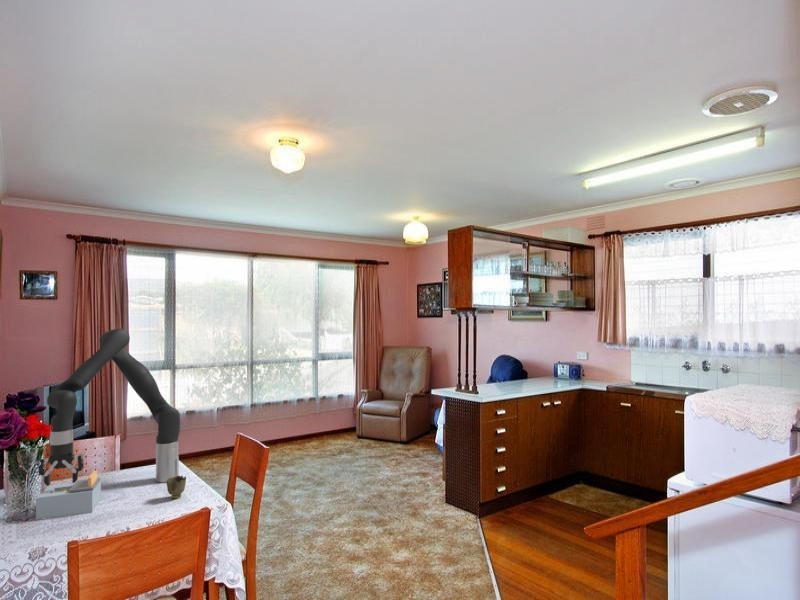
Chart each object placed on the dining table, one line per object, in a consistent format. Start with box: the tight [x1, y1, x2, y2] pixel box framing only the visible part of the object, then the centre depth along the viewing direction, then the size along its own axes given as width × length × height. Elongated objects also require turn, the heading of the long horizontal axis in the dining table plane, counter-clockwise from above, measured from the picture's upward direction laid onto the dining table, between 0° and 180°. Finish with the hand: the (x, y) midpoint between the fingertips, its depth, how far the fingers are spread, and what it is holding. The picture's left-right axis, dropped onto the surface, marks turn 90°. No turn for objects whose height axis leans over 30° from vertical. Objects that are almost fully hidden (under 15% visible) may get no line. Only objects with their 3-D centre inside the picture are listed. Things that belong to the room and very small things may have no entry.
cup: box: [166, 475, 187, 500], centre depth 198 cm, size 8×7×8 cm
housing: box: [35, 479, 102, 521], centre depth 188 cm, size 18×14×8 cm
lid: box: [69, 470, 101, 492], centre depth 190 cm, size 8×12×4 cm, turn 20°
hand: (61, 483), depth 187 cm, fingers open, 8 cm apart
